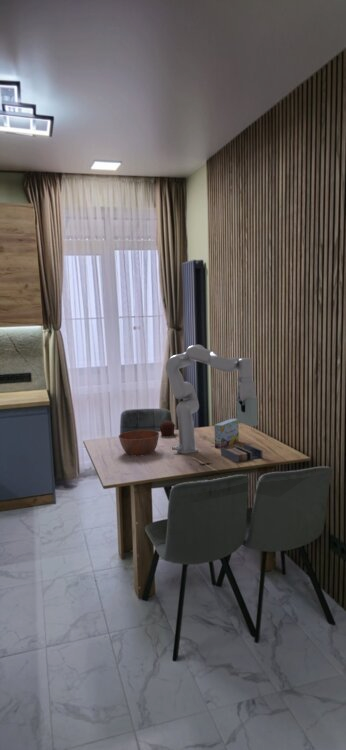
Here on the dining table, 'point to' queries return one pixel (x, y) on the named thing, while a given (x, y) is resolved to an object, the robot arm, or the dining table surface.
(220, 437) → the snack box
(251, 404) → the tall sheet
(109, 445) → the dining table surface
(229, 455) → the offcut rack
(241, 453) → the upper offcut
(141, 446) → the bowl
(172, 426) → the muffin
